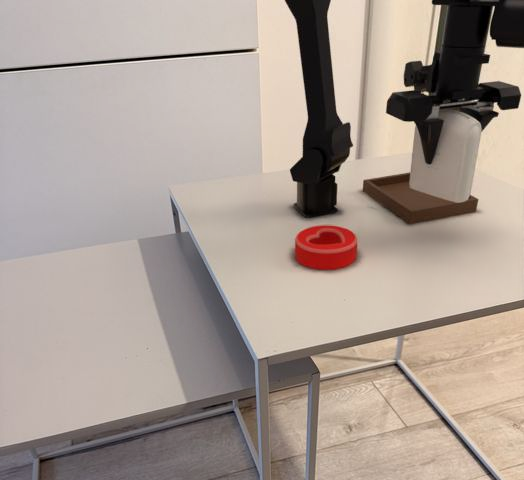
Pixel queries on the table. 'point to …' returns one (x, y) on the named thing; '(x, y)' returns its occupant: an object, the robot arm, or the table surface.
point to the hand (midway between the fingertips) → (443, 161)
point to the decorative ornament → (326, 247)
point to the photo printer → (448, 158)
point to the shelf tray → (413, 200)
